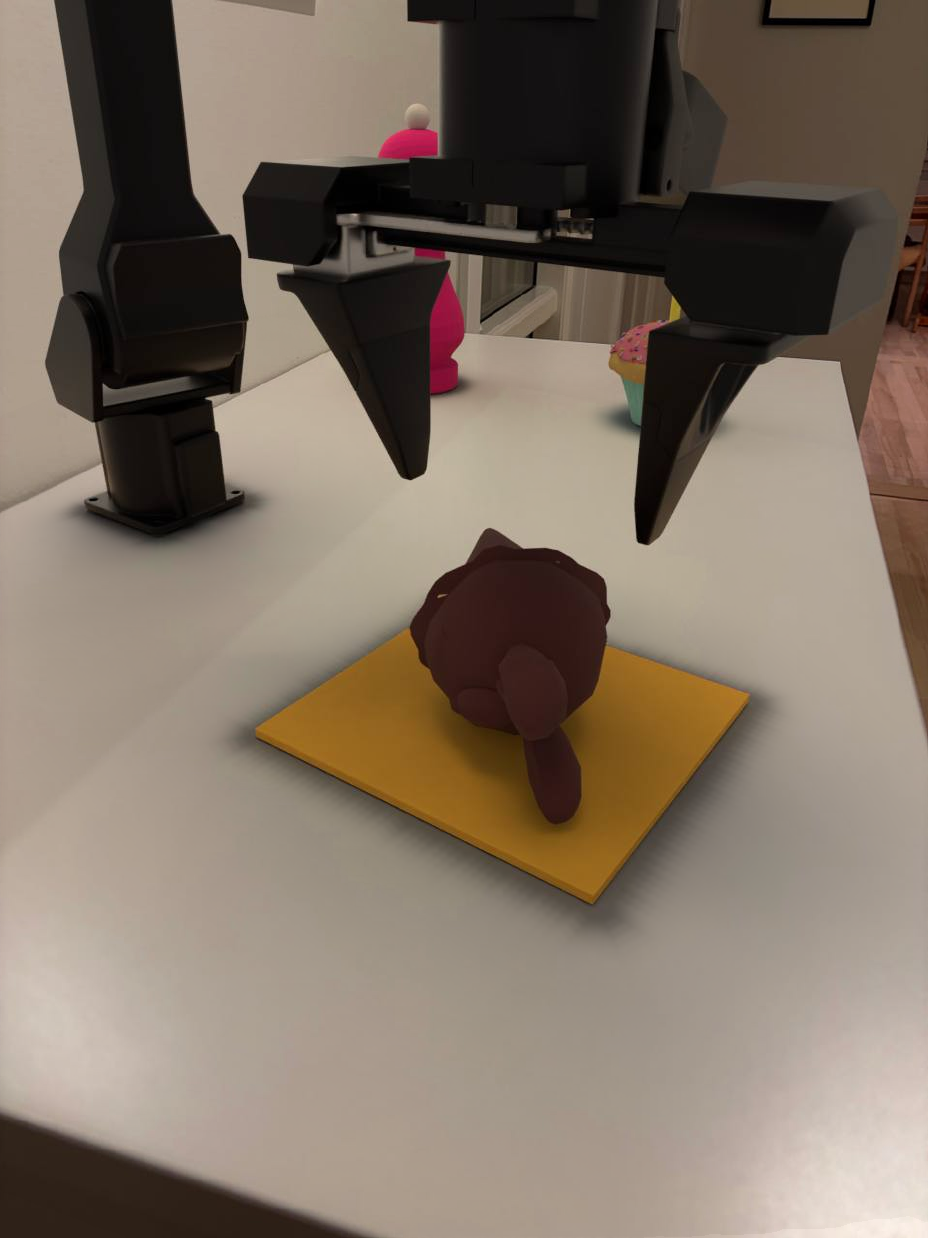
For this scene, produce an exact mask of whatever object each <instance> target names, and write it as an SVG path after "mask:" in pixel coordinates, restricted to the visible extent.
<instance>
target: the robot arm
mask: <svg viewBox="0 0 928 1238" xmlns="http://www.w3.org/2000/svg"><path fill="white" fill-rule="evenodd" d="M53 3H54V9H55V15H56V22H57V28H58V35H59V39H60V46H61V52H62V59H63V64H64V65H63V66H64V72H65V78H66V83H67V91H68V96H69V103H70V108H71V114H72V115H71V116H72V121H73V128H74V133H75V141H76V147H77V151H78V153H77V154H78V160H79V165H80V171H81V178H82V187H83V188H82V189H83V191H82V194H81V195H80V198H79V201H78V202H77V203H78V204H77V206H76V209H75V211H74V213H73V215H72V218H71V221H70V223H69V225H68V228H67V229H66V232H65V235H64V237H63V239H62V242H61V244H60V247H59V250H58V259H59V260H58V261H59V268H60V269H59V270H60V278H61V286H62V296H60V299H59V302H58V306H57V310H56V315H55V319H54V322H53V325H52V326H53V327H52V331H51V335H50V339H49V342H48V348H47V352H46V355H45V358H44V359H45V360H44V366H45V370H46V373H47V376H48V379H49V382H50V385H51V389H52V392H53V395H54V398H55V400H56V403H57V404H58V405H60V406H62V407H64V408H65V409H66V410H69V411H71V412H73V413H74V414H75V415H78V416H79V417H80V418H82V419H85V420H87V421H88V422H90V423H92V424H94V428H95V433H96V439H97V444H98V449H99V455H100V459H101V466H102V471H103V476H104V481H105V486H106V491H103V492H100V493H98V494H95V495H92V496H89V497H87V498H84V500H83V502H84V506H85V507H84V508H85V509H86V510H88V511H91V512H94V513H97V514H99V515H102V516H104V517H107V518H109V519H112V520H115V521H117V522H120V523H123V524H126V525H128V526H131V527H133V528H135V529H139V530H141V531H144V532H147V533H149V534H152V535H153V534H154V535H163V534H167V533H168V532H171V531H174V530H176V529H178V528H181V527H183V526H185V525H188V524H190V523H193V522H195V521H198V520H201V519H203V518H206V517H208V516H210V515H212V514H214V513H217V512H220V511H222V510H224V509H227V508H230V507H232V506H234V505H236V504H239V503H241V502H243V501H245V500H246V492H245V490H243V489H240V488H237V487H234V486H231V485H229V484H228V485H227V484H226V481H225V480H226V479H225V472H224V464H223V455H222V447H221V446H222V445H221V437H220V433H219V432H218V431H217V430H216V422H215V413H214V404H213V400H211V399H208V398H212V397H217V396H222V395H227V394H229V395H236V394H240V393H241V391H242V380H243V379H242V378H243V371H244V370H243V368H244V361H245V350H246V339H247V330H248V322H249V319H250V318H249V314H248V310H247V306H246V303H245V297H244V291H243V281H242V251H241V248H240V247H239V244H238V243H237V240H236V239H235V237H234V235H232V234H231V233H225V234H224V233H222V234H221V233H220V230H219V229H218V228H217V226H216V225H215V224H214V222H213V221H212V219H211V218H210V216H209V215H208V213H207V212H206V210H205V209H204V207H203V206H202V204H201V203H200V201H199V200H198V198H197V197H196V195H195V193H194V189H193V181H192V175H191V164H190V155H189V147H188V137H187V127H186V118H185V107H184V99H183V90H182V80H181V71H180V61H179V53H178V51H179V50H178V43H177V34H176V25H175V15H174V13H175V12H174V5H173V0H53ZM406 13H407V14H406V15H407V17H406V18H407V19H406V20H407V23H408V22H409V23H418V24H419V23H420V24H428V25H437V133H438V156H437V155H435V156H420V157H409V160H407V159H391V158H378V157H375V156H374V157H372V156H358V155H349V156H347V155H346V156H333V157H332V156H331V157H317V158H316V157H315V158H301V159H284V160H283V159H282V160H267V161H266V160H265V161H260V163H259V164H258V166H257V168H256V169H255V172H254V174H253V175H252V177H251V179H250V181H249V182H248V185H247V186H246V188H245V189H244V191H243V194H242V195H241V197H242V208H243V218H244V229H245V239H246V240H245V241H246V250H247V259H250V260H251V259H252V260H259V261H266V262H271V263H280V264H285V265H286V264H287V265H292V269H286V270H281V271H278V272H277V273H276V280H277V286H278V287H279V289H280V291H283V292H289V293H292V294H294V295H295V296H296V297H297V300H299V302H300V304H301V305H302V307H303V308H304V310H305V311H306V313H307V315H308V316H309V318H310V320H311V321H312V322H313V325H314V326H315V328H316V329H317V331H318V332H319V334H320V335H321V337H322V338H323V340H324V342H325V344H326V345H327V347H328V348H329V350H330V352H331V353H332V355H333V356H334V357H335V360H336V361H337V362H338V364H339V366H340V367H341V369H342V371H343V373H344V375H345V376H346V378H347V380H348V382H349V384H350V385H351V387H352V390H353V391H354V392H355V394H356V396H357V398H358V400H359V401H360V403H361V405H362V407H363V409H364V411H365V413H366V415H367V417H368V419H369V420H370V422H371V424H372V426H373V428H374V430H375V432H376V434H377V436H378V437H379V439H380V441H381V443H382V445H383V447H384V449H385V451H386V453H387V455H388V456H389V458H390V460H391V463H392V464H393V466H394V468H395V469H396V471H397V473H398V475H399V477H400V478H401V479H403V480H405V481H413V480H415V479H418V478H419V477H422V476H424V475H425V473H426V471H427V469H428V461H429V453H430V441H431V433H432V432H431V429H432V428H431V427H432V426H431V424H432V423H431V422H432V421H431V420H432V417H431V416H432V415H431V414H432V413H431V412H432V411H431V410H432V409H431V407H432V405H431V403H432V402H431V398H432V397H431V395H432V394H431V376H430V321H431V314H432V310H433V308H434V305H435V303H436V300H437V298H438V295H439V293H440V290H441V288H442V285H443V283H444V280H445V278H446V275H447V273H448V274H449V270H450V268H451V265H452V263H451V259H446V258H445V259H437V258H429V257H421V256H415V248H420V249H428V250H437V251H445V253H446V252H447V253H454V254H463V255H470V256H471V255H472V256H479V257H480V256H481V257H488V258H496V259H505V260H514V261H521V262H530V263H539V264H545V265H546V264H548V265H554V266H563V267H571V268H581V269H589V270H596V271H597V270H598V271H606V272H614V273H615V272H616V273H621V274H622V273H623V274H629V275H640V276H648V277H656V278H663V284H664V286H665V287H666V288H667V290H668V292H669V293H670V294H671V296H672V295H673V297H674V298H675V300H676V301H677V303H678V304H679V306H680V307H681V310H682V311H683V313H684V314H685V315H684V316H682V317H680V318H679V319H677V320H675V321H672V322H670V323H667V324H665V325H662V326H660V327H658V328H655V329H653V330H650V331H649V335H648V345H647V356H646V368H645V380H644V391H643V405H642V416H641V426H640V430H639V440H638V451H637V462H636V463H637V464H636V476H635V487H634V498H633V499H634V501H633V505H634V506H633V510H634V511H633V512H634V526H635V527H634V528H635V540H636V542H637V543H638V544H640V545H644V546H646V547H647V546H650V545H651V544H653V543H654V542H655V541H656V540H658V539H659V538H660V537H661V536H662V534H663V533H664V531H665V530H666V527H667V525H668V524H669V521H670V520H671V518H672V516H673V515H674V514H673V513H674V512H675V510H676V508H677V506H678V504H679V503H680V500H681V499H682V496H683V495H684V493H685V491H686V489H687V487H688V486H689V483H690V481H691V479H692V477H693V475H694V473H695V471H696V469H697V467H698V465H699V464H700V462H701V459H702V458H703V456H704V454H705V452H706V450H707V448H708V446H709V445H710V442H711V441H712V438H713V437H714V435H715V433H716V432H717V429H718V427H719V426H720V423H721V422H722V420H723V418H724V416H725V415H726V413H727V412H728V411H729V409H730V407H731V405H732V404H733V402H734V401H735V399H736V398H737V397H738V395H739V394H740V392H741V391H742V390H743V388H744V387H745V385H746V383H747V382H748V381H749V380H750V378H751V376H752V375H753V373H754V372H755V371H756V370H757V368H758V367H759V366H762V365H766V364H769V363H770V362H772V361H773V360H775V359H777V358H778V357H780V356H782V355H783V354H785V353H787V352H789V351H790V350H792V349H794V348H795V347H797V346H799V345H801V344H802V343H804V342H806V341H807V340H809V339H811V338H812V337H814V336H829V335H830V334H832V333H833V332H835V331H836V330H838V329H840V328H842V327H843V326H845V325H846V324H848V323H850V322H851V321H853V320H855V319H856V318H859V316H861V315H863V314H864V313H866V312H868V311H870V310H871V309H873V308H875V307H876V306H878V305H879V304H881V303H882V302H884V299H885V294H886V291H887V286H888V281H889V278H890V272H891V269H892V263H893V259H894V254H895V250H896V246H897V241H898V218H899V217H898V215H899V214H898V213H897V211H896V210H895V208H894V206H893V204H892V203H891V201H890V199H889V197H888V196H887V194H886V193H885V191H884V189H883V188H881V187H867V186H866V187H865V186H849V185H848V186H847V185H832V184H817V183H816V184H815V183H799V182H782V181H781V182H780V181H770V180H769V181H766V180H747V181H743V182H738V183H737V182H736V183H732V184H725V185H720V186H714V187H713V185H714V184H713V183H714V180H715V176H716V172H717V168H718V165H719V164H718V163H719V161H720V160H719V159H720V156H721V152H722V148H723V144H724V140H725V137H726V132H727V129H728V124H729V116H728V115H727V114H726V112H725V111H724V110H723V108H722V107H721V106H720V105H719V103H718V102H717V101H716V100H715V99H714V97H713V96H712V95H711V93H710V92H709V91H708V90H707V88H706V87H705V86H704V84H703V83H702V82H701V80H700V79H699V78H698V77H697V76H696V75H694V74H693V73H691V72H689V71H686V70H684V69H683V67H682V62H681V61H682V60H681V55H680V49H679V36H680V28H681V27H680V26H681V18H682V17H681V16H682V15H681V14H682V13H681V9H680V7H679V0H406ZM487 205H489V206H490V205H492V206H504V207H514V208H515V223H507V224H504V222H494V223H493V221H487ZM567 210H569V217H566V216H559V211H561V212H563V211H567ZM558 233H567V234H579V235H583V236H585V235H591V238H588V237H575V236H567V235H558Z"/></svg>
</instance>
